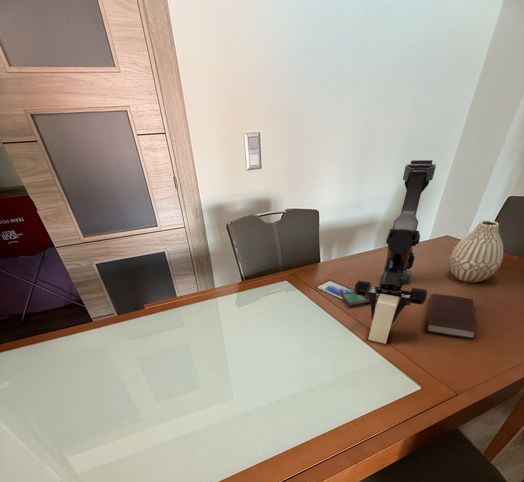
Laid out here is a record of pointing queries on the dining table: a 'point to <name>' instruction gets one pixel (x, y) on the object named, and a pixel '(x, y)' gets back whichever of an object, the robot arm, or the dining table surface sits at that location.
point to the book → (451, 316)
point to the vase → (478, 253)
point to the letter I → (383, 318)
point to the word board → (356, 299)
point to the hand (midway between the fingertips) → (382, 321)
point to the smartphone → (334, 289)
